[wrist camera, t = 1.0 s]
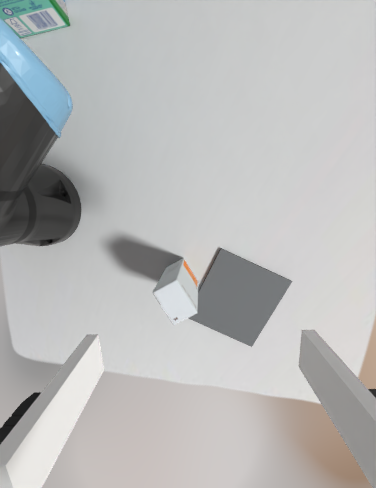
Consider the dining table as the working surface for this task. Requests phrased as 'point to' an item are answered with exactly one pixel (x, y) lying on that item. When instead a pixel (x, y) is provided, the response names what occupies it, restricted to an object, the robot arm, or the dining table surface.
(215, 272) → the mat
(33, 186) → the robot arm
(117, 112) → the dining table surface
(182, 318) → the skincare box
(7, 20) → the milk carton
